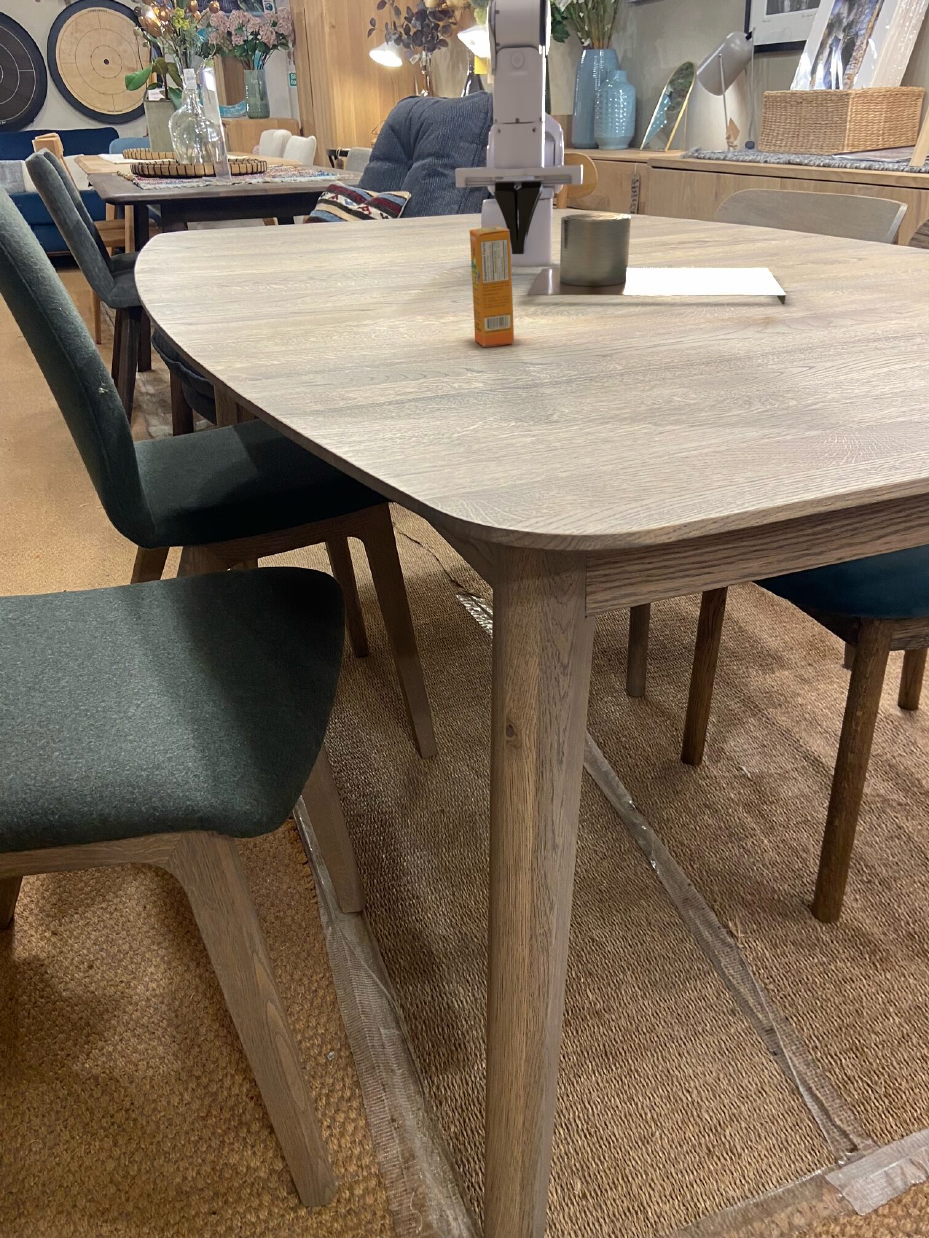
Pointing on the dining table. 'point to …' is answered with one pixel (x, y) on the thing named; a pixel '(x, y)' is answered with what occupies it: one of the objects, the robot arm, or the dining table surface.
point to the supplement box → (492, 286)
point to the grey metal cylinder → (594, 249)
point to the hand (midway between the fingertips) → (518, 253)
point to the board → (680, 280)
